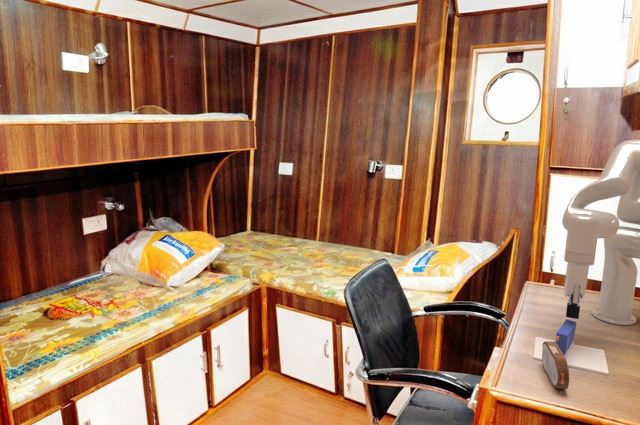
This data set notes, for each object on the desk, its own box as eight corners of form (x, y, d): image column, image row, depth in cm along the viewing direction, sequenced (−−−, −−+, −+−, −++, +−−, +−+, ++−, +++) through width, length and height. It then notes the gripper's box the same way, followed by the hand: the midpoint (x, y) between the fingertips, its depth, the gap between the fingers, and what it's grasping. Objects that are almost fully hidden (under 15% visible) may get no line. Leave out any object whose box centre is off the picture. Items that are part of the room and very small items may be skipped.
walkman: (566, 319, 134) (556, 333, 125) (576, 321, 132) (567, 336, 123) (562, 343, 135) (552, 359, 126) (572, 346, 134) (563, 362, 125)
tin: (568, 396, 110) (572, 364, 109) (554, 394, 111) (558, 362, 109) (550, 364, 125) (554, 336, 123) (538, 363, 126) (541, 334, 124)
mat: (535, 338, 140) (535, 336, 140) (603, 352, 132) (604, 350, 132) (533, 359, 128) (533, 357, 128) (608, 375, 120) (608, 373, 120)
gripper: (564, 249, 138) (557, 306, 142) (564, 262, 125) (557, 324, 129) (593, 252, 135) (585, 310, 139) (596, 266, 122) (588, 329, 125)
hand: (572, 317), depth 134 cm, fingers closed
